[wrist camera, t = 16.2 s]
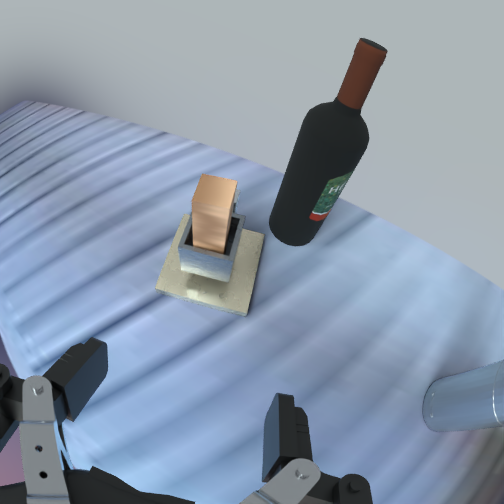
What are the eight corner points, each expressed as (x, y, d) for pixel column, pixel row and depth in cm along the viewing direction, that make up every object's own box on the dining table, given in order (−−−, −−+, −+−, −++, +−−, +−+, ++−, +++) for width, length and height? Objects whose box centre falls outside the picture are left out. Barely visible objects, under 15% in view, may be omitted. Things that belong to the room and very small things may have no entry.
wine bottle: (283, 198, 47) (347, 25, 21) (322, 222, 46) (413, 59, 20) (259, 227, 43) (322, 30, 17) (302, 255, 42) (407, 71, 16)
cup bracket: (262, 239, 42) (278, 196, 34) (245, 316, 36) (259, 288, 28) (184, 219, 42) (181, 172, 33) (156, 292, 36) (142, 256, 27)
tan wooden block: (226, 248, 35) (237, 180, 25) (220, 271, 33) (229, 208, 23) (201, 242, 35) (202, 173, 24) (194, 265, 33) (191, 200, 23)
